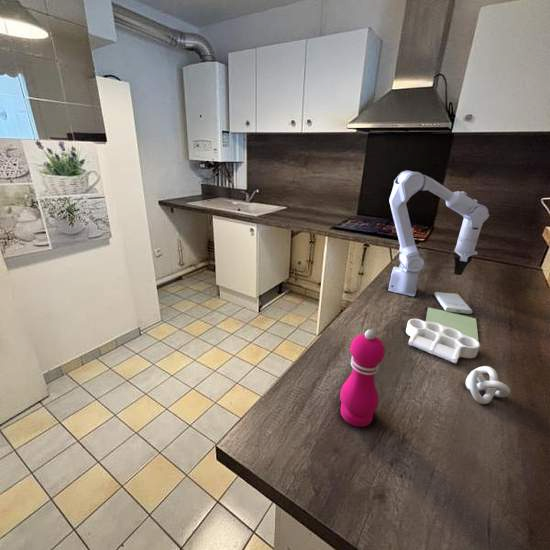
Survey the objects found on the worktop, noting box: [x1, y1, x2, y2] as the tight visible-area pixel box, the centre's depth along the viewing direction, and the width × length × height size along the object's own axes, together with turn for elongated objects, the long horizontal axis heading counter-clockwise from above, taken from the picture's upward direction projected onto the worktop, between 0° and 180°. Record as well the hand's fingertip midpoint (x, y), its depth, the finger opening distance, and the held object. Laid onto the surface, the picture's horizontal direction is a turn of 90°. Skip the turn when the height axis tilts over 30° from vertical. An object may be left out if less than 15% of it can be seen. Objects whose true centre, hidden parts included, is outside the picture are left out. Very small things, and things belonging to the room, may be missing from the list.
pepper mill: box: [339, 329, 386, 428], centre depth 55 cm, size 7×7×20 cm
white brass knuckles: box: [405, 318, 481, 364], centre depth 80 cm, size 3×18×15 cm
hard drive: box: [433, 291, 473, 315], centre depth 102 cm, size 2×8×12 cm
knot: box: [465, 365, 511, 405], centre depth 63 cm, size 8×8×6 cm
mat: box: [425, 306, 479, 342], centre depth 91 cm, size 14×14×1 cm
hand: (457, 274), depth 107 cm, fingers closed
